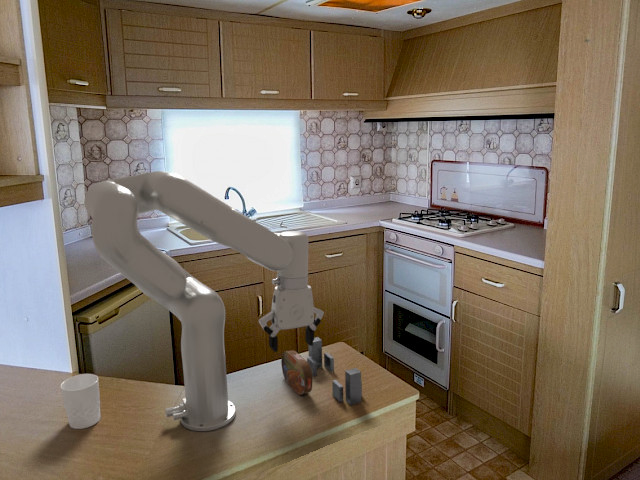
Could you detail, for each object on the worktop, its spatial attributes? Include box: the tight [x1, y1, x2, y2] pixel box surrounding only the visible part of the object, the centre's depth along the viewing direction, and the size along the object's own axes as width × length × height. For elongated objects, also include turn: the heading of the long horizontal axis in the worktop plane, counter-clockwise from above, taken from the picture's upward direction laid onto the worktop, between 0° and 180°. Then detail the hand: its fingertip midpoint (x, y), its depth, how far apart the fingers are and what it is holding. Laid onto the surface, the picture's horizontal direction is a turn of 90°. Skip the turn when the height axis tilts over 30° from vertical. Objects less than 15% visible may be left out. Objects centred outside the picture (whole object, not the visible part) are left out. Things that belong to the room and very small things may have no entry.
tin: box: [280, 350, 314, 396], centre depth 132 cm, size 15×3×8 cm, turn 26°
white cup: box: [59, 373, 102, 430], centre depth 119 cm, size 8×8×10 cm
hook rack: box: [306, 336, 363, 406], centre depth 134 cm, size 6×23×8 cm, turn 26°
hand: (291, 346), depth 130 cm, fingers open, 9 cm apart
